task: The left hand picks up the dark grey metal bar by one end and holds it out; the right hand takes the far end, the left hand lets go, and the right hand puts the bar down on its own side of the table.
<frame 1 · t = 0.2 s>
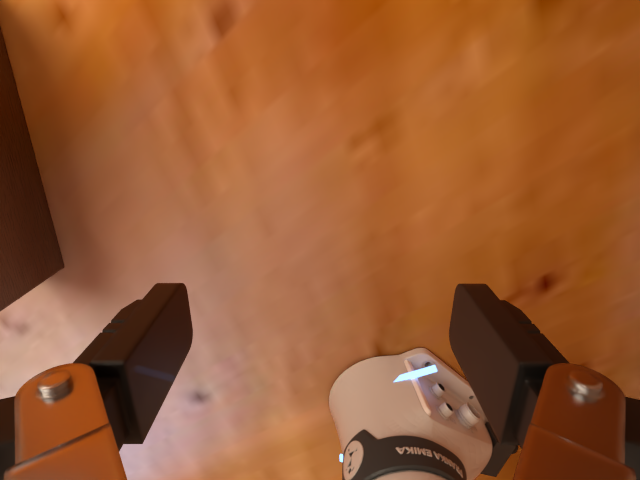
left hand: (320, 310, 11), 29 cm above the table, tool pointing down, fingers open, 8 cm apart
bar: (8, 145, 38), on the table
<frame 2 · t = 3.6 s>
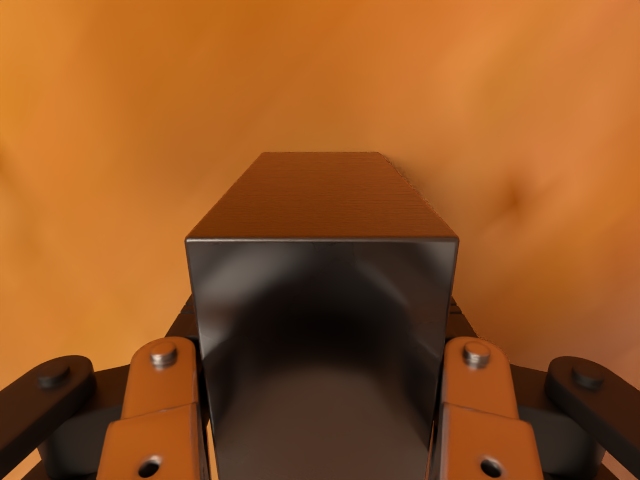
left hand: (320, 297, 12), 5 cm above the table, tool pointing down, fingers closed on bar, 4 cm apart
bar: (320, 410, 20), on the table, touching left hand
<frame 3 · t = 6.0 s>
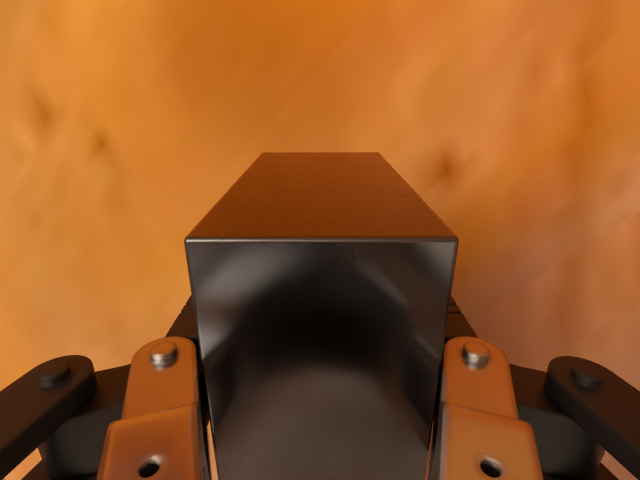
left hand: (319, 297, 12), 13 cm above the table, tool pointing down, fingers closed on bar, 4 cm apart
bar: (320, 410, 20), point 8 cm above the table, touching left hand
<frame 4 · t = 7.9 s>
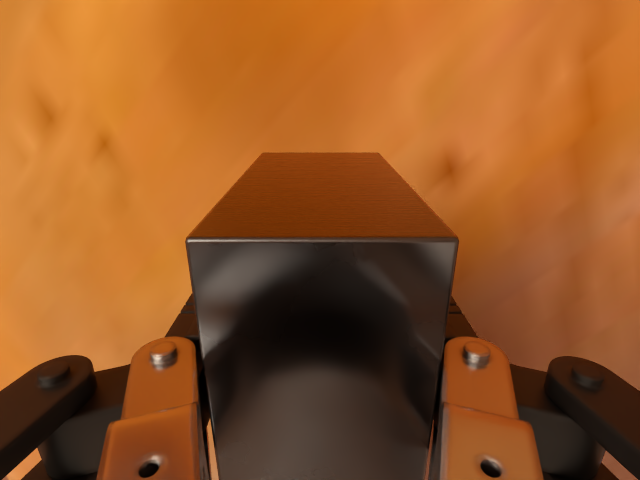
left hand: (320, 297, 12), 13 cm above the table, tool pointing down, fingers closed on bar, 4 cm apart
bar: (320, 409, 20), point 8 cm above the table, touching left hand, right hand
when the left hand's fingers open (13 cm above the table, at t = 8.8 s): bar stays where it is, held by the right hand.
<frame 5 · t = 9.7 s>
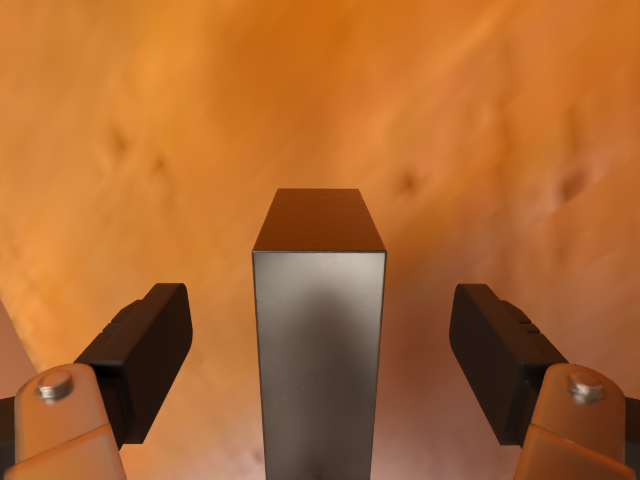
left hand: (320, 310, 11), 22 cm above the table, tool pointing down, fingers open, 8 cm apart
bar: (317, 376, 27), point 11 cm above the table, touching right hand
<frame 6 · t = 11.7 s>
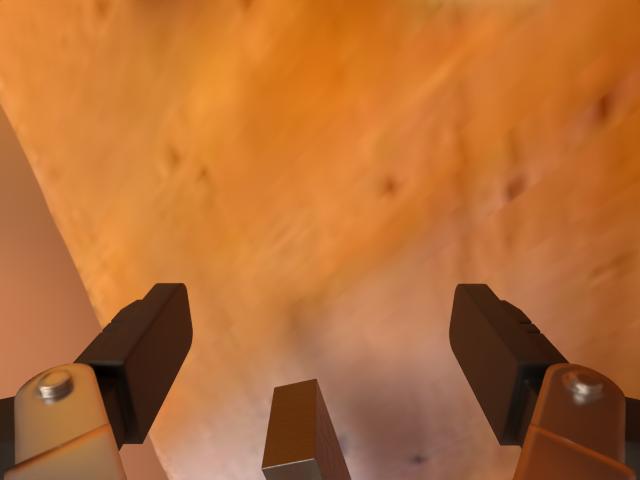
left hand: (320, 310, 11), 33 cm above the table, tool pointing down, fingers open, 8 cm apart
bar: (327, 469, 45), point 11 cm above the table, touching right hand
when the right hand's fingers open (5 cm above the table, at t = 15.6 s): bar stays where it is, on the table.
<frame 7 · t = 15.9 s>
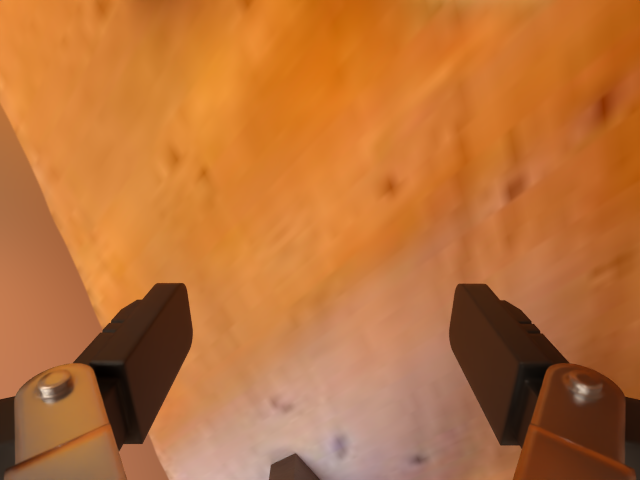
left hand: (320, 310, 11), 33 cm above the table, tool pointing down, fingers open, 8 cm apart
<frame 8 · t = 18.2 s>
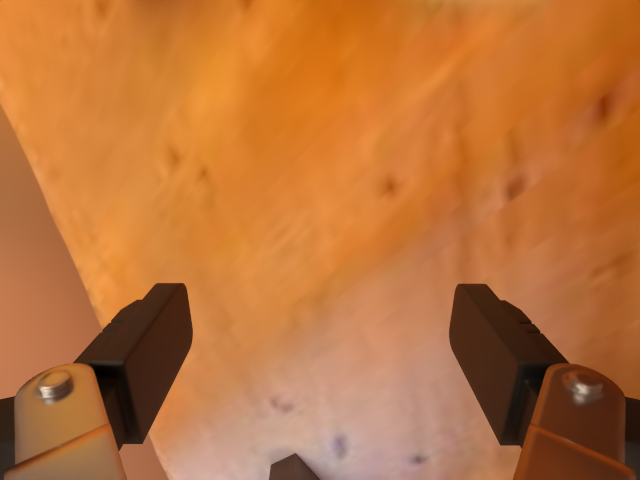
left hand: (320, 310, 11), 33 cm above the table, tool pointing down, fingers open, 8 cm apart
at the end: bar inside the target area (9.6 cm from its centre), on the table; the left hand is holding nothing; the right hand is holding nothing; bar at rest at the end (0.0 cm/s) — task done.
